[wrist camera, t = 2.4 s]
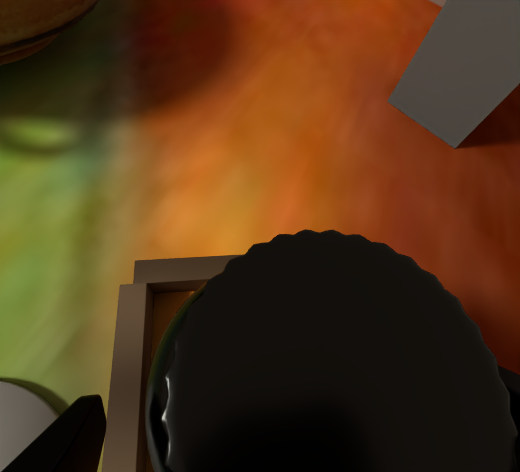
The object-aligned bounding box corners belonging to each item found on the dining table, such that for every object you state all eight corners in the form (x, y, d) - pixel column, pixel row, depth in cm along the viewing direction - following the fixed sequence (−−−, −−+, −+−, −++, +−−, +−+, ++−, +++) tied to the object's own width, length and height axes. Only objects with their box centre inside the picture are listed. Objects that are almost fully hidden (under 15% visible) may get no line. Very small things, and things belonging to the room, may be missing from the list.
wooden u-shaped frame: (405, 493, 13) (430, 508, 12) (109, 552, 11) (91, 579, 10) (346, 260, 18) (358, 248, 17) (131, 273, 16) (122, 261, 15)
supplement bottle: (281, 293, 17) (387, 133, 6) (351, 417, 14) (724, 507, 4) (162, 354, 15) (9, 271, 4) (221, 512, 12) (234, 1329, 2)
